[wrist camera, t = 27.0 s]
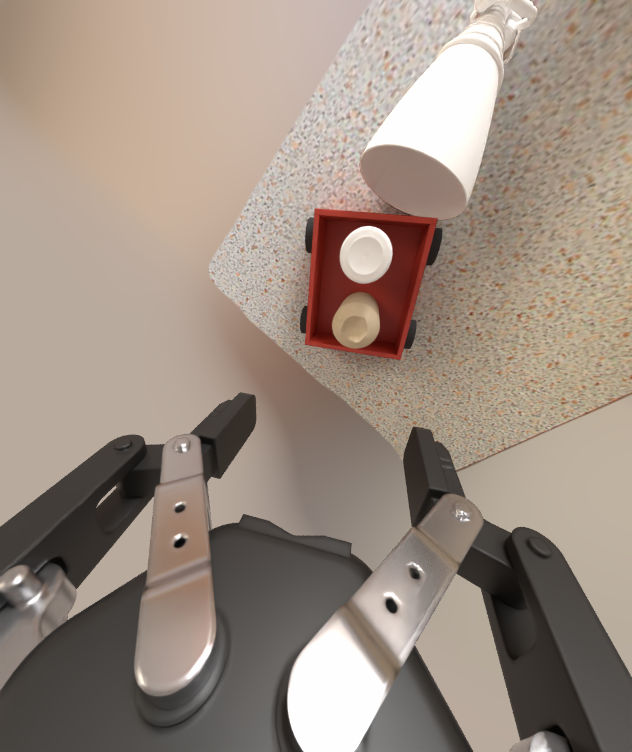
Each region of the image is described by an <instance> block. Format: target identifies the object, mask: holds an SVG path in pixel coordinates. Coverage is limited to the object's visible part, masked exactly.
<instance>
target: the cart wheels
mask: <svg viewBox="0 0 632 752" xmlns="http://www.w3.org/2000/svg"><path fill="white" fill-rule="evenodd" d="M313 226H314V218H309V219H308V222H307V226H306V234H305V244H306V250H307V252H308V253H312V240H313ZM441 240H442V229H441V228H435V231H434V235H433V239H432V243H431V246H430V250H429V254H428V258H427V261H426V265H432V264H433V263H434V261H435V259H436V257H437V254H438V251H439V248H440V244H441ZM307 310H308V306H304V308H303V310H302V313H301V319H300V330H301V332H302V333H306V324H307ZM415 333H416V321H415V320H411V322H410V326H409V330H408V333H407V337H406V341H405V345H404V348H405V349H410V348H411V346H412V344H413V341H414V337H415Z"/></svg>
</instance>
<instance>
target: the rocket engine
mask: <svg viewBox="0 0 632 752" xmlns="http://www.w3.org/2000/svg"><path fill="white" fill-rule="evenodd" d="M474 7H475V9H474V11H473V12H472V14H471V16H470V20H469V21H470V23H471V25H469V26H468V27H467V28H466V29H465V30H464V31H463V32H462V34H460V35H459V36H457V37H456V38H455V39H454V40H452V41H450V42H449V43H447V44H446V45H445V46H444V47H443V48H442V50H441V51H440V52H439V54H438V56H437V58H436V60H435V62H434V63H433V64H432V65H431V66H430V67H429V68H428V69H427V70H426V71H425V73H424V74H423V75H422V76H421V77H420V78H419V79H418V80H417V82H416V83H415V84H414V85H413V86H412V87H411V89H410V90H409V91H408V92H407V93H406V95H405V96H404V97H403V98H402V99H401V101H400V102H399V103H398V104H397V106H396V107H395V108H394V109H393V111H392V112H391V113H390V115H389V116H388V117H387V119H386V120H385V121H384V123H383V124H382V125H381V127H380V128H379V130H378V131H377V132H376V134H375V135H374V137H373V138H372V140H371V141H370V143H369V144H368V146H367V147H366V149H365V151H364V152H363V154H362V156H361V158H360V163H359V166H360V172H361V174H362V177H363V179H364V180H365V182H366V183H367V185H368V186H369V187H370V188H371V190H372V191H373V192H374V193H375V194H376V195H377V196H379V197H380V198H381V199H382V200H384V201H385V202H386V203H388V204H390V205H391V206H393V207H394V208H396V209H398V210H400V211H402V212H405V213H407V214H410V215H413V216H418V217H431V218H438V220H446V219H451V218H454V217H456V216H458V215H460V214H461V213H462V212H463V211H464V209H465V208H466V206H467V203H468V201H469V198H470V195H471V193H472V190H473V187H474V184H475V181H476V177H477V174H478V171H479V167H480V164H481V160H482V156H483V153H484V149H485V145H486V141H487V136H488V132H489V128H490V123H491V119H492V114H493V109H494V104H495V99H496V96H497V95H498V93H499V91H500V88H501V85H502V81H503V76H504V68H503V64H506V63H507V62H509V61H510V59H511V58H512V56H513V54H514V51H515V48H516V46H517V43H518V40H519V37H520V34H521V32H522V30H523V29H526V28H528V27H529V26H530V25H531V24H532V23H533V22H534V20H535V19H536V16H537V9H536V7H535V6H533V3H532V2H531V0H474ZM486 10H487V11H486ZM484 11H486V12H485V13H484V14H483V15H482V16H480V17H479V18H477V19H476V20H475V18H476V15H477V13H478V12H480V13H481V12H484ZM522 17H523V18H525V17H526V18H525V19H523V20H521V19H522ZM516 33H517V36H516V39H515V35H516ZM514 40H515V42H514ZM513 42H514V45H513V48H512V51H511V54H510V56H509V57H508V58H507V59H506V60H504V61H503V55H504V52H505V51H506V50H507V49H508V48H509V47H510V46H511V45H512V43H513Z"/></svg>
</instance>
